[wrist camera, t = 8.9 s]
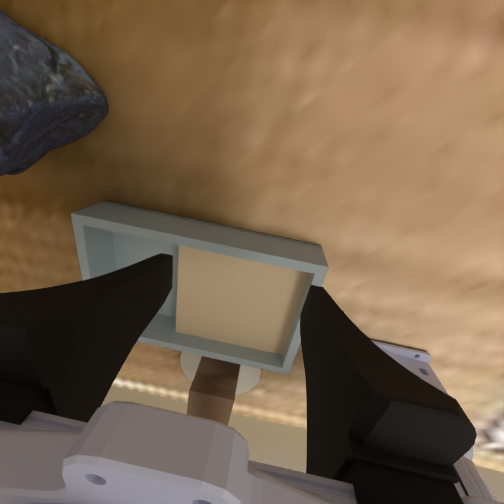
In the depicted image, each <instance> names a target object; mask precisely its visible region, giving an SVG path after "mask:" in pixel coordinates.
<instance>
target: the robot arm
mask: <svg viewBox="0 0 504 504" xmlns="http://www.w3.org/2000/svg"><path fill="white" fill-rule="evenodd" d="M172 278H173V255H169V254H164V253H160V254H157V255H154V256H152V257H149V258H147V259H145V260H142V261H140V262H137V263H135V264H132V265H130V266H127V267H124V268H121V269H119V270H116V271H113V272H110V273H107V274H104V275H101V276H98V277H94V278H90V279H87V280H83V281H79V282H74V283H69V284H64V285H59V286H54V287H48V288H42V289H35V290H27V291H19V292H9V293H0V504H504V503H502V502H498V501H497V499H496V498H495V496H494V494H493V493H492V491H491V489H490V488H489V486H488V485H487V483H486V481H485V480H484V478H483V476H482V475H481V473H480V472H479V471H478V469H477V467H476V466H475V464H474V463H473V461H472V457H473V445H474V443H475V439H476V436H477V435H476V431H475V428H474V426H473V425H472V423H471V422H470V420H469V419H468V417H467V416H466V414H465V413H464V411H463V409H462V408H461V406H460V405H459V403H458V402H457V400H456V399H454V398H452V397H451V396H449V395H448V393H447V392H446V390H445V388H444V387H443V385H442V384H441V382H440V381H439V379H438V378H437V376H436V374H435V373H434V371H433V370H432V368H431V367H430V365H429V363H428V362H429V361H430V360H431V358H432V357H431V355H430V354H429V353H428V352H424V351H419V350H414V349H410V348H405V347H401V346H396V345H391V344H387V343H382V342H377V341H373V340H370V339H369V338H368V337H367V336H366V335H365V334H364V333H363V332H361V331H360V330H359V329H358V327H357V326H356V325H355V324H354V323H353V322H352V321H351V320H350V319H349V318H348V317H347V316H346V315H345V313H344V312H343V311H342V310H341V309H340V308H339V306H338V305H337V304H336V303H335V301H334V300H333V299H332V298H331V296H330V295H329V294H328V293H327V292H326V290H325V289H324V288H323V287H320V286H315V285H310V288H309V291H308V294H307V297H306V300H305V303H304V305H303V308H302V311H301V314H300V337H301V345H302V353H303V360H304V368H305V376H306V394H307V468H306V473H303V472H298V471H294V470H290V469H285V468H281V467H277V466H272V465H268V464H264V463H259V462H255V461H250V460H248V459H249V450H248V443H247V441H246V440H245V438H244V437H243V436H242V435H241V434H239V433H238V432H237V431H236V430H235V429H234V428H232V427H230V426H227V425H225V424H222V423H220V422H217V421H213V420H209V419H205V418H200V417H196V416H191V415H187V414H182V413H178V412H174V411H169V410H165V409H160V408H156V407H152V406H147V405H143V404H138V403H134V402H124V401H113V402H110V403H108V404H106V405H103V406H101V404H102V403H103V401H104V399H105V397H106V395H107V393H108V391H109V389H110V387H111V385H112V383H113V381H114V380H115V378H116V376H117V374H118V372H119V371H120V369H121V367H122V365H123V363H124V362H125V360H126V358H127V356H128V355H129V353H130V351H131V350H132V348H133V346H134V345H135V343H136V342H137V340H138V339H139V337H140V336H141V334H142V333H143V332H144V330H145V329H146V328H147V326H148V325H149V323H150V322H151V321H152V319H153V318H154V317H155V315H156V314H157V312H158V311H159V310H160V308H161V307H162V305H163V304H164V302H165V301H166V299H167V297H168V295H169V293H170V291H171V289H172ZM416 354H417V355H416ZM100 406H101V407H100Z"/></svg>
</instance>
